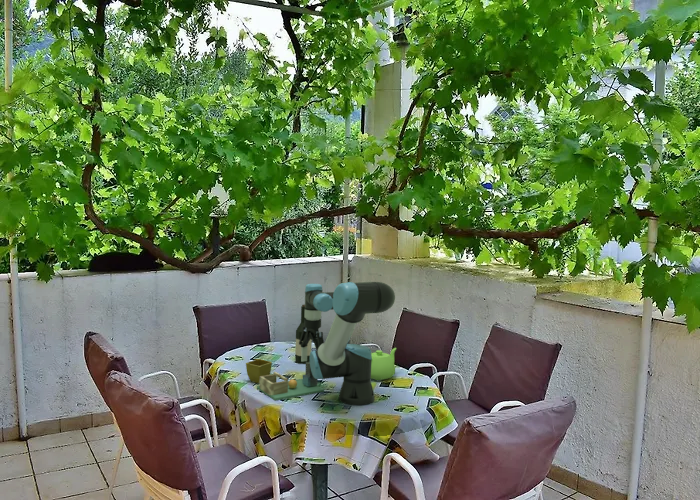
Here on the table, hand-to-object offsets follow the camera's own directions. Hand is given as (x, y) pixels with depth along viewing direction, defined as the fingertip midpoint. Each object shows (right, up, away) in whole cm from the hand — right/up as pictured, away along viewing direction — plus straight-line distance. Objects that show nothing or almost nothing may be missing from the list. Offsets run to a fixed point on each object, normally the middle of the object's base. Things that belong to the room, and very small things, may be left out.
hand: (311, 365), depth 266 cm
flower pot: (-25, -9, +7) cm, 27 cm away
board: (-9, -10, -4) cm, 14 cm away
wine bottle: (-7, -7, +41) cm, 43 cm away
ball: (-8, -7, -5) cm, 12 cm away
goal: (-16, -10, -8) cm, 21 cm away
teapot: (+32, -10, +19) cm, 38 cm away
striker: (-1, -9, 0) cm, 9 cm away
